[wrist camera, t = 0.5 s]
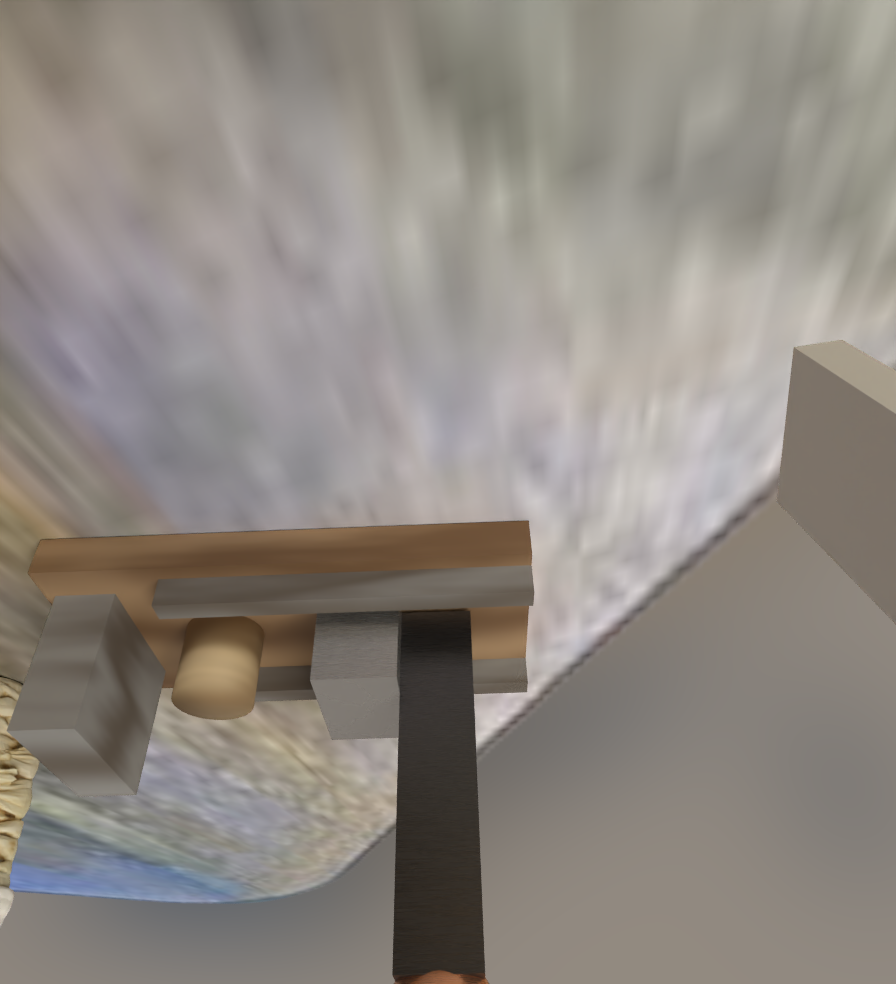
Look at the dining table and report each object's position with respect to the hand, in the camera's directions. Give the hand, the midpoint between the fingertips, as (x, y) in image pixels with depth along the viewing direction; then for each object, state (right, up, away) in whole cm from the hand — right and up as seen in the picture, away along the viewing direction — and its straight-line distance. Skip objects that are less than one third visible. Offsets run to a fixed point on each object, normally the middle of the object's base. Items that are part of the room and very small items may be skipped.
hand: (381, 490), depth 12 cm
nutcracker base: (-7, -6, +31) cm, 33 cm away
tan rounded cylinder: (-11, -7, +30) cm, 33 cm away
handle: (-1, -7, +30) cm, 31 cm away
